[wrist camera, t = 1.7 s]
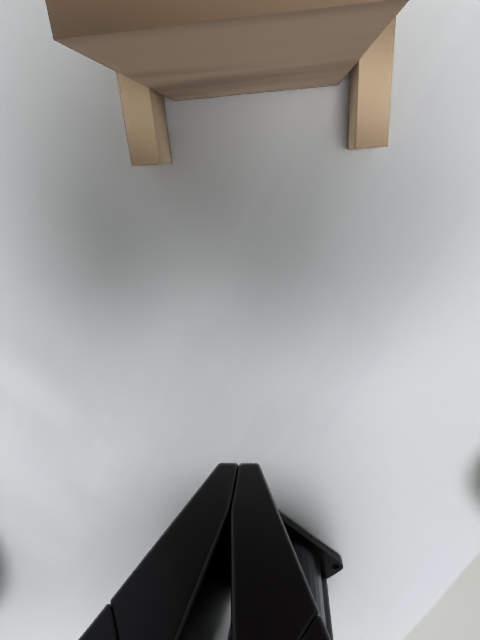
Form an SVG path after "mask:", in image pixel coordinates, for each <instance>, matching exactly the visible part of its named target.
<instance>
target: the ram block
mask: <svg viewBox="0 0 480 640" xmlns="http://www.w3.org/2000/svg"><path fill="white" fill-rule="evenodd" d="M45 1H46V5H47V10H48V15H49V20H50V24H51V29H52V34H53V39H54V40H55V41H57V42H59V43H61V44H63V45H65V46H67V47H69V48H71V49H73V50H75V51H77V52H79V53H81V54H83V55H85V56H87V57H89V58H91V59H93V60H95V61H97V62H99V63H101V64H102V65H104V66H106V67H108V68H110V69H112V70H114V71H116V72H118V73H120V74H122V75H124V76H126V77H128V78H130V79H132V80H134V81H136V82H138V83H140V84H142V85H144V86H146V87H148V88H150V89H152V90H154V91H156V92H158V93H160V94H162V95H164V96H166V97H168V98H170V99H172V100H174V101H177V100H188V99H198V98H208V97H219V96H229V95H240V94H250V93H260V92H271V91H281V90H292V89H302V88H313V87H323V86H333V85H339V83H340V82H341V81H342V80H343V79H344V77H345V76H346V75H347V74H348V73H349V71H350V70H351V69H352V68H353V67H354V65H355V64H356V63H357V62H358V61H359V59H360V58H361V57H362V56H363V55H364V53H365V52H366V51H367V50H368V49H369V47H370V46H371V45H372V44H373V43H374V41H375V40H376V39H377V38H378V37H379V35H380V34H381V33H382V32H383V31H384V29H385V28H386V27H387V26H388V25H389V23H390V22H391V21H392V20H393V19H394V17H395V16H396V15H397V14H398V13H399V12H400V10H401V9H402V8H403V7H404V6H405V4H406V3H407V2H408V1H409V0H45Z"/></svg>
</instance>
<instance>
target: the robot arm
mask: <svg viewBox="0 0 480 640" xmlns="http://www.w3.org/2000/svg"><path fill="white" fill-rule="evenodd" d="M342 569H343V563H342V559H341V558H340V557H339V556H337V555H336V554H335V553H333V552H332V551H331V550H329V549H328V548H326V547H325V546H324V545H322V544H321V543H320V542H318V541H317V540H316V539H314V538H313V537H311V536H310V535H309V534H307V533H306V532H305V531H303V530H302V529H301V528H299V527H298V526H296V525H295V524H294V523H292V522H291V521H290V520H288V519H287V518H286V517H284V516H283V515H282V514H280V513H279V512H278V509H277V507H276V504H275V502H274V500H273V497H272V495H271V492H270V490H269V487H268V485H267V482H266V480H265V478H264V475H263V473H262V470H261V468H260V466H259V464H257V463H241V464H240V465H238V464H237V463H220V464H219V465H218V466H217V467H216V468H215V469H214V471H213V472H212V473H211V474H210V476H209V477H208V478H207V479H206V481H205V482H204V483H203V484H202V486H201V487H200V488H199V489H198V491H197V492H196V493H195V495H194V496H193V497H192V498H191V500H190V501H189V502H188V503H187V505H186V506H185V507H184V508H183V510H182V511H181V512H180V513H179V515H178V516H177V517H176V518H175V520H174V521H173V522H172V523H171V525H170V526H169V527H168V529H167V530H166V531H165V532H164V534H163V535H162V536H161V537H160V539H159V540H158V541H157V542H156V544H155V545H154V546H153V547H152V549H151V550H150V551H149V552H148V554H147V555H146V556H145V557H144V559H143V560H142V561H141V563H140V564H139V565H138V566H137V568H136V569H135V570H134V571H133V573H132V574H131V575H130V576H129V578H128V579H127V580H126V581H125V583H124V584H123V585H122V586H121V588H120V589H119V590H118V591H117V593H116V594H115V595H114V597H113V598H112V599H111V605H110V604H107V605H106V606H105V607H104V609H103V610H102V611H101V613H100V614H99V615H98V616H97V618H96V619H95V620H94V621H93V623H92V624H91V625H90V626H89V628H88V629H87V630H86V631H85V632H84V634H83V635H82V636H81V637H80V638H79V640H333V634H332V624H331V615H330V606H329V597H328V588H327V578H329V577H331V576H332V575H334V574H336V573H337V572H339V571H340V570H342Z"/></svg>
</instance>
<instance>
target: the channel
mask: <svg viewBox="0 0 480 640" xmlns="http://www.w3.org/2000/svg"><path fill="white" fill-rule="evenodd" d="M395 22H396V16H395V17H394V19H393V20H392V21H391V22H390V23H389V25H388V26H387V27H386V28H385V29H384V31H383V32H382V33H381V34H380V35H379V37H378V38H377V39H376V40H375V41H374V43H373V44H372V45H371V46H370V47H369V49H368V50H367V51H366V52H365V53H364V55H363V56H362V57H361V58H360V59H359V61H358V62H357V63H356V64H355V65H354V67H353V68H352V69H351V70H350V100H349V134H348V150H349V149H362V148H375V147H388V131H389V116H390V100H391V84H392V69H393V53H394V37H395ZM116 73H117V79H118V85H119V91H120V97H121V103H122V109H123V115H124V121H125V127H126V134H127V140H128V146H129V152H130V158H131V164H132V166H143V165H156V164H169V163H171V155H170V147H169V139H168V131H167V124H166V116H165V108H164V100H163V95H162V94H160V93H158V92H156V91H154V90H152V89H150V88H148V87H146V86H144V85H142V84H140V83H138V82H136V81H134V80H132V79H130V78H128V77H126V76H124V75H122V74H120V73H118V72H116Z"/></svg>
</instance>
